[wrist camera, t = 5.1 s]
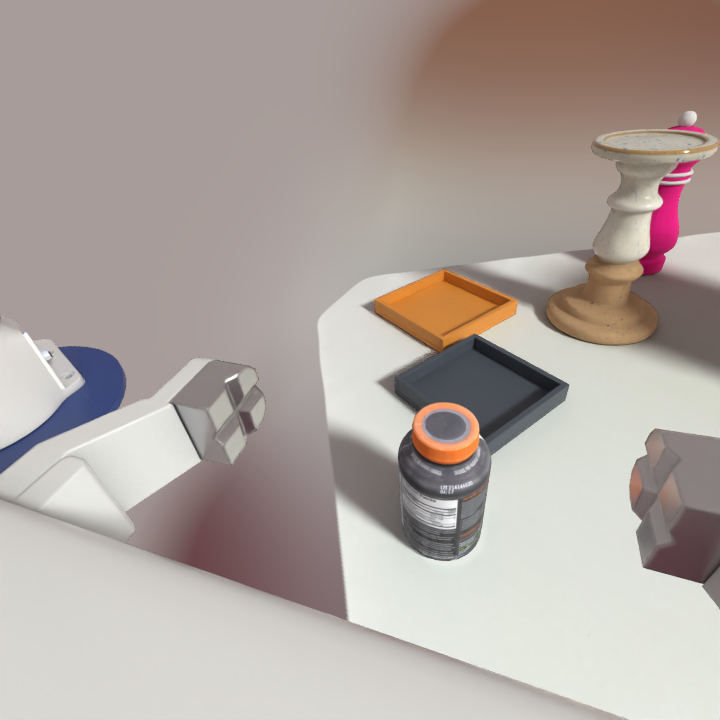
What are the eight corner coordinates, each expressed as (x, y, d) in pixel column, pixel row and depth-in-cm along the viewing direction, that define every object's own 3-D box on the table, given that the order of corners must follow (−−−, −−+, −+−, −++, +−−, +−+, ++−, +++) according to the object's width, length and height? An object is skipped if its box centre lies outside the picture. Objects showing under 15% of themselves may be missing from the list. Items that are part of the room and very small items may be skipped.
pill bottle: (455, 482, 35) (464, 379, 28) (496, 545, 30) (519, 441, 23) (389, 506, 33) (382, 405, 26) (422, 576, 29) (424, 476, 22)
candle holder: (587, 285, 58) (631, 123, 46) (678, 322, 49) (763, 134, 37) (524, 313, 54) (555, 142, 42) (612, 359, 45) (683, 160, 33)
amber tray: (375, 312, 57) (374, 299, 56) (443, 281, 63) (444, 268, 62) (442, 354, 48) (443, 340, 47) (515, 314, 54) (518, 300, 53)
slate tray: (395, 392, 44) (394, 377, 43) (473, 347, 49) (474, 333, 48) (482, 462, 36) (484, 446, 35) (565, 400, 41) (569, 384, 40)
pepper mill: (677, 272, 59) (744, 110, 47) (629, 279, 58) (685, 118, 46) (643, 253, 65) (694, 104, 52) (599, 259, 64) (641, 111, 52)
